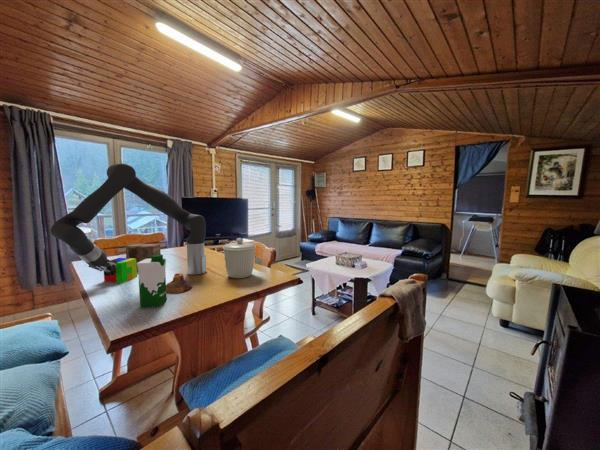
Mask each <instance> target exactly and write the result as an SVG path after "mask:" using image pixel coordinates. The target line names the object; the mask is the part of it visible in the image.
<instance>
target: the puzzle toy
mask: <svg viewBox="0 0 600 450" xmlns="http://www.w3.org/2000/svg"><path fill="white" fill-rule="evenodd" d="M109 260H110V259H109ZM110 261H111V262H112V263H113V262H117V265H116V267H115V268H114V270H115V271H116V272H115V274H114V275H110V274H108V273H107V272H104V271H103V281H104V282H105V283H118V284H122V283H123V284H124V283H126V282H128V281H130V280H133V279H135V278H138V268H137V263H136V259H134V258H126V257H118V258H114V259H111V260H110Z"/></svg>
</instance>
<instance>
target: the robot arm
mask: <svg viewBox="0 0 600 450" xmlns="http://www.w3.org/2000/svg"><path fill="white" fill-rule="evenodd" d="M106 176H107V179H106V180H105V181H104V182H103V183H102V184H101V186H99V187H98V188H97V189H96V190H94V191H93V192H92V193H90V194H89V195H87V197H85V198H84V199H83V200H82V201H81V202H80V203H79V204H78V205H77V206H76V207H75V208H74V209H73V210H71V211H70V212H69V213H67V214H66V215H64V216H62V217H61V218H59V219H58V220H56V221H55V222H54V223H53V225H51V228H50V234H51V235H52V237H54V238H56V239H58V240H60V241H62V242H64V243H65V244H66V245H67V246H68V247H69V249H70V250H71V251H72V252H74V254H76V255H77V256H78V257H79V258H80V259H81V260H82V261H83V262H84V263H86V264H87V265H88V268H91V269H94V270H97V271H99V272H103V273H104V272H107V273H108V274H110V275H114V274H115V272H116V271H115V270H114V268H115V267H116V265H117V262H113V263H112V262H111V261H110V259H108V256H107V254H106V253H105V252H104V251H103V250H102V249H101V248H100V247H99V246H98V245H96V244H95V243H94V242H93V241H92V240H90V239H89V238H88V236H87V235H86V233H85V232H84V231H83V230H82V229H81V228H80V227H79V225H80V224H89V223H91V222H92V221H93V219H94V218H96V216H98V215H99V213H100V212H101V210H103V209H104V207H106V206H107V204H108V203H109V202H110V201H111V200H112V199H113V198H114V197H115V196H116V195H117V194H119V193H120V192H121V191H122V190H123V189H125V190H127V191H129V192H131V193H132V194H134V195H135V196H137V197H138V198H140V199H141V200H142V201H144V202H145V203H147V204H148V205H150V206H151V207H153V208H154V209H156V210H158V212H160V213H163V214H165V215H166V216H168V217H169V218H172V219H174V221H176V222H178V223H179V224H180V225H181V226H183V227H184V228H185V229H187V230H189V233H190V234H189V236H188V237H187V238H186V257H187V258H186V259H187V261H186V263H187V274H188V275H191V276H193V275H194V276H195V275H203V274H205V272H207V255H206V253H205V240H206V235H207V233H206V231H207V223H206V219H205V217H204V216H203V215H200V214H194V213H191V212H189V211H187V210H186V209H183V208H182V207H181V205H179V204H178V202H177V201H176V200H175V199H174V198H173V196H171V195H169V194H168V193H166V192H165V191H164V190H162V189H160V188H158V187H156V186H154V185H152V184H149V183H147V182H146V181H144V180H142V179H141V178H139V177H138V176H137V172H136V170H135V168H134V167H133V166H132V165H130V164H128V163H116V164H112V165H110V166H108V167H107V169H106Z"/></svg>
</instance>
